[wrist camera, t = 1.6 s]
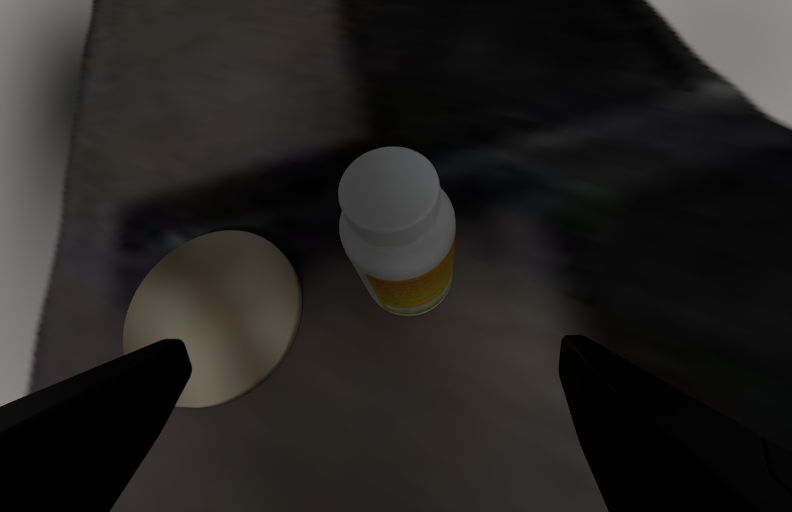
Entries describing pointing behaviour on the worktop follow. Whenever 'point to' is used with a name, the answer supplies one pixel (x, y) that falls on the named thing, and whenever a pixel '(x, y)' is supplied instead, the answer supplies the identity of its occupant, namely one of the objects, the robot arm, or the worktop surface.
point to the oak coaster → (220, 312)
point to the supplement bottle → (398, 229)
